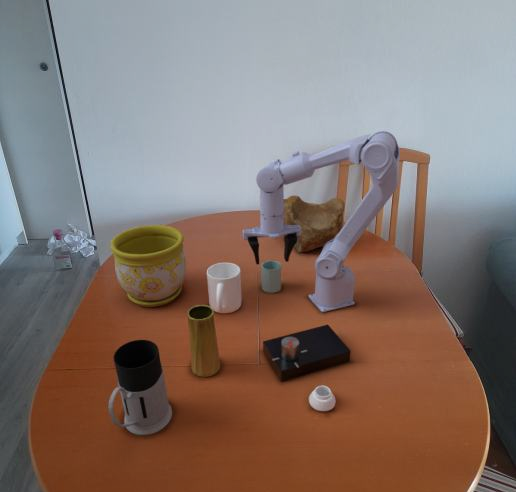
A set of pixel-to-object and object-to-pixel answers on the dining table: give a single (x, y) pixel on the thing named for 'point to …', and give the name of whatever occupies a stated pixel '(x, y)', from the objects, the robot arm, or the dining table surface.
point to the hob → (308, 352)
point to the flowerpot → (150, 263)
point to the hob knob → (290, 348)
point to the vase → (203, 341)
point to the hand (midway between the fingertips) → (271, 261)
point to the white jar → (322, 399)
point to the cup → (271, 276)
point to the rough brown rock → (313, 221)
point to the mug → (224, 287)
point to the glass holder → (141, 388)
